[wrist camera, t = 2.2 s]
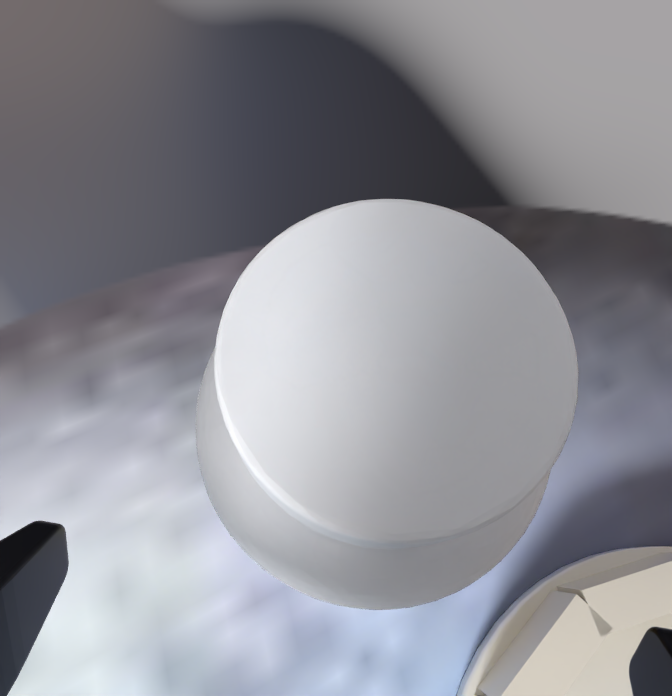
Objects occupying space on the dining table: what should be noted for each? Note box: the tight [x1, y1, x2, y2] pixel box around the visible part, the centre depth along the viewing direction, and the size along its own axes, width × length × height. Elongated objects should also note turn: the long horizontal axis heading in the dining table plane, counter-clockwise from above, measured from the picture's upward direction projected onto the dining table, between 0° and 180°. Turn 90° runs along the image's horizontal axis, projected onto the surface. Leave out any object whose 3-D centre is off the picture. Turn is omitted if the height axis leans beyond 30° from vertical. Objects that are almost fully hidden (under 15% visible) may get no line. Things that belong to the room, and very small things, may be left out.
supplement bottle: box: [196, 199, 579, 610], centre depth 13 cm, size 7×7×13 cm
